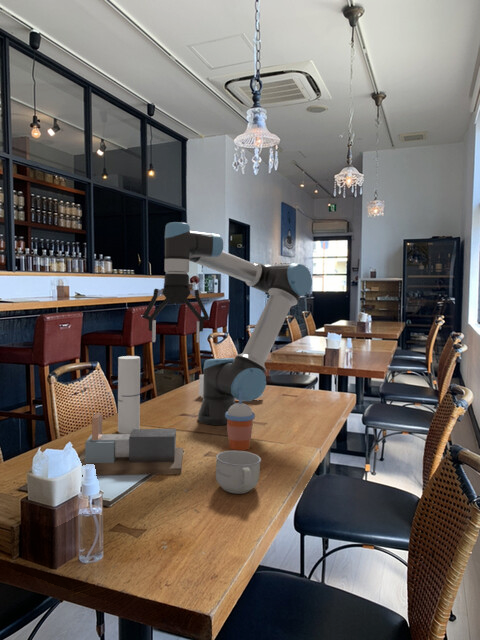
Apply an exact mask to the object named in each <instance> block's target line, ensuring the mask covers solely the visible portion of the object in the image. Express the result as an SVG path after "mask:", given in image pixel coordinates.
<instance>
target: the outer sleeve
mask: <svg viewBox="0 0 480 640" xmlns="http://www.w3.org/2000/svg"><path fill="white" fill-rule="evenodd" d="M176 433H177V429H176V428H140V429H133V430H132V432H131V434H130V436H129V463H136V462H174V461H175V454H176V448H177V443H176V441H177V434H176Z"/></svg>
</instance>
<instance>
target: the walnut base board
mask: <svg viewBox="0 0 480 640" xmlns="http://www.w3.org/2000/svg"><path fill="white" fill-rule="evenodd" d="M183 456H184V447H176V454H175V461H174V462H136V463H129V457H116V459H115V461H114V463H85V449H84V450H83V451H82V453H81V454H80V456H79V457H78V458H80V461H81V463H82V466H83V465H86V464H94V465H95V469H96V474H97V475H96V476H124V475H125V476H127V475H131V476H132V475H133V476H135V475H136V476H137V475H182V470H183V469H182V468H183V467H182V466H183V458H184V457H183Z"/></svg>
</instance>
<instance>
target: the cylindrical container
mask: <svg viewBox="0 0 480 640" xmlns="http://www.w3.org/2000/svg"><path fill="white" fill-rule="evenodd" d="M117 361H118V362H117V363H118V365H117V369H118V370H117V376H118V377H117V383H118V384H117V432H118V434H131V432H132V430H133V429H141V428H140V425H141V424H140V421H141V419H140V418H141V417H140V416H141V415H140V413H141V411H140V410H141V406H140V405H141V398H140V397H141V395H140V393H141V357H140V356H138V355H126V356H125V355H124V356H123V355H122V356H119V357H117Z"/></svg>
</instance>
